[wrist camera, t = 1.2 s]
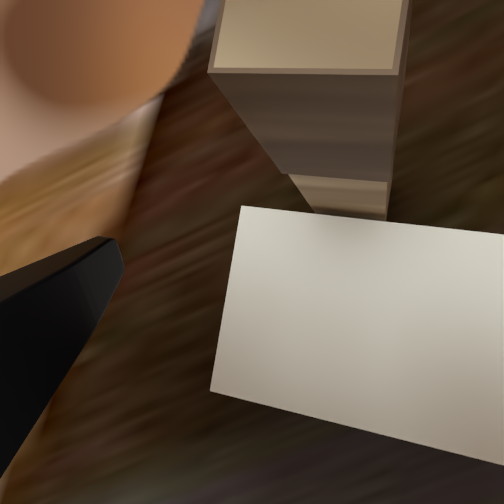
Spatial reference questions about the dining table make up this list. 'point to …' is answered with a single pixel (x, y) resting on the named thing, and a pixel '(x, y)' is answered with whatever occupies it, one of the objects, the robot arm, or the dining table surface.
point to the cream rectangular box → (369, 327)
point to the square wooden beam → (319, 92)
